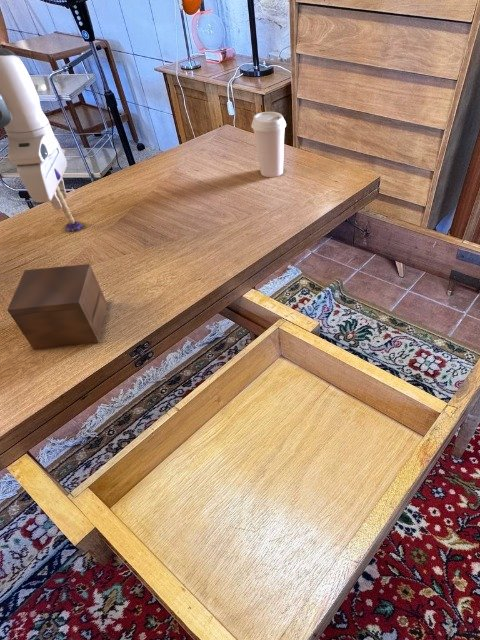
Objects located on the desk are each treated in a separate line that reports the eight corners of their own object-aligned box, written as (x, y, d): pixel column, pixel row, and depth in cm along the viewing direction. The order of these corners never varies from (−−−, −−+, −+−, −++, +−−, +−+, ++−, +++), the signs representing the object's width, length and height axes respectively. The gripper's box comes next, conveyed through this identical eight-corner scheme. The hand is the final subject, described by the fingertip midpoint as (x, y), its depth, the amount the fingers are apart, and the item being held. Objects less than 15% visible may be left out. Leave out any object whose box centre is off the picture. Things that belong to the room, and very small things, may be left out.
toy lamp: (74, 236, 110) (43, 166, 97) (59, 233, 111) (27, 163, 98) (87, 227, 113) (58, 157, 100) (72, 224, 114) (42, 155, 101)
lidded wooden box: (35, 352, 83) (6, 309, 75) (49, 312, 91) (24, 270, 83) (100, 344, 84) (78, 302, 76) (108, 305, 92) (89, 263, 84)
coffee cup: (264, 184, 126) (260, 125, 115) (250, 171, 132) (244, 114, 120) (293, 176, 129) (292, 118, 118) (278, 164, 134) (275, 108, 123)
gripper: (30, 124, 102) (56, 184, 113) (5, 160, 89) (37, 225, 100) (58, 122, 102) (82, 182, 113) (37, 157, 89) (66, 222, 100)
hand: (61, 202), depth 106 cm, fingers closed on toy lamp, 4 cm apart
